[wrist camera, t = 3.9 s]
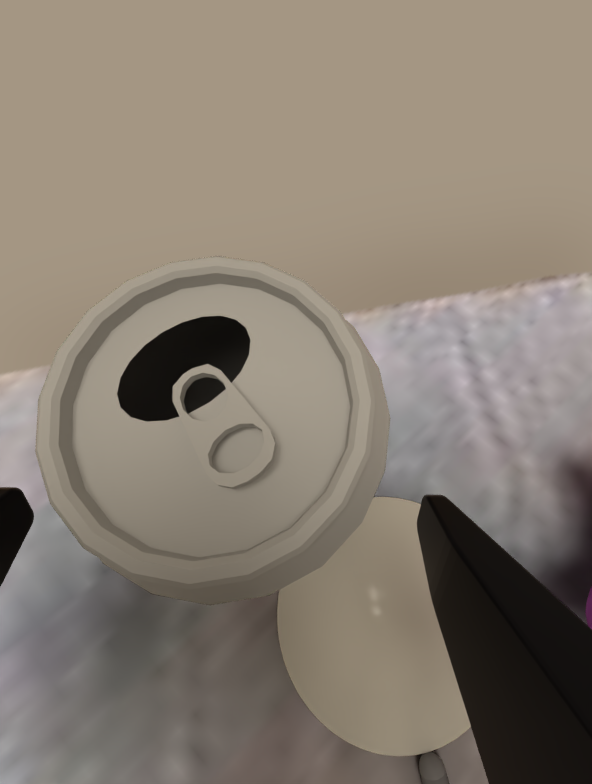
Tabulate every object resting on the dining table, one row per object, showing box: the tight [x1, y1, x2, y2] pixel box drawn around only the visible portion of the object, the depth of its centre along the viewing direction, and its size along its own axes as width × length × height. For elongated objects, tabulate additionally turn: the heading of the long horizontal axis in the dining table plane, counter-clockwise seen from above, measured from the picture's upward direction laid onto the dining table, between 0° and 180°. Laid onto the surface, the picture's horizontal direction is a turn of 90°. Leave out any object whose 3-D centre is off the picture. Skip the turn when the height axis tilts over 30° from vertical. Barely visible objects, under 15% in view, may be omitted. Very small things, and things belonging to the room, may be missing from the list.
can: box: [35, 256, 390, 605], centre depth 12 cm, size 8×8×12 cm
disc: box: [277, 497, 471, 756], centre depth 16 cm, size 10×10×1 cm
